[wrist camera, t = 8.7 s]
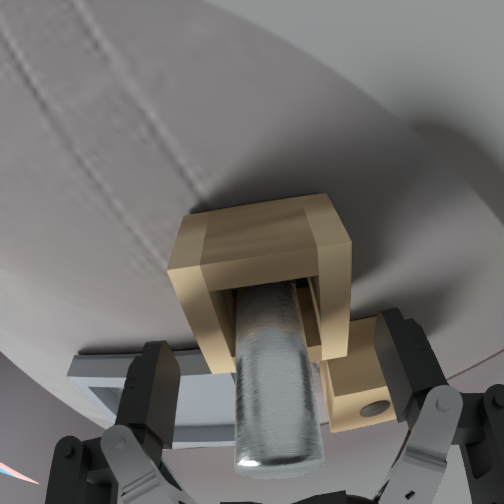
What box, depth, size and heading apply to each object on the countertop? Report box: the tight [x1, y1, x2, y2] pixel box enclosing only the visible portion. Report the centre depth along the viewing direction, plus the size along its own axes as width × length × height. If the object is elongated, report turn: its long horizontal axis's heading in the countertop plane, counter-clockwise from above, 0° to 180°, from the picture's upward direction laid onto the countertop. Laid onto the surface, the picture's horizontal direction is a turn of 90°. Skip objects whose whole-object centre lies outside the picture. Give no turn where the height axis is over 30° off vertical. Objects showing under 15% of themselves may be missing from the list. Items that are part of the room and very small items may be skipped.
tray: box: [67, 349, 235, 447], centre depth 22 cm, size 12×12×2 cm
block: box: [320, 316, 397, 433], centre depth 18 cm, size 5×5×5 cm
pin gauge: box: [234, 279, 325, 479], centre depth 12 cm, size 3×3×10 cm
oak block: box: [167, 193, 352, 374], centre depth 14 cm, size 6×6×4 cm
